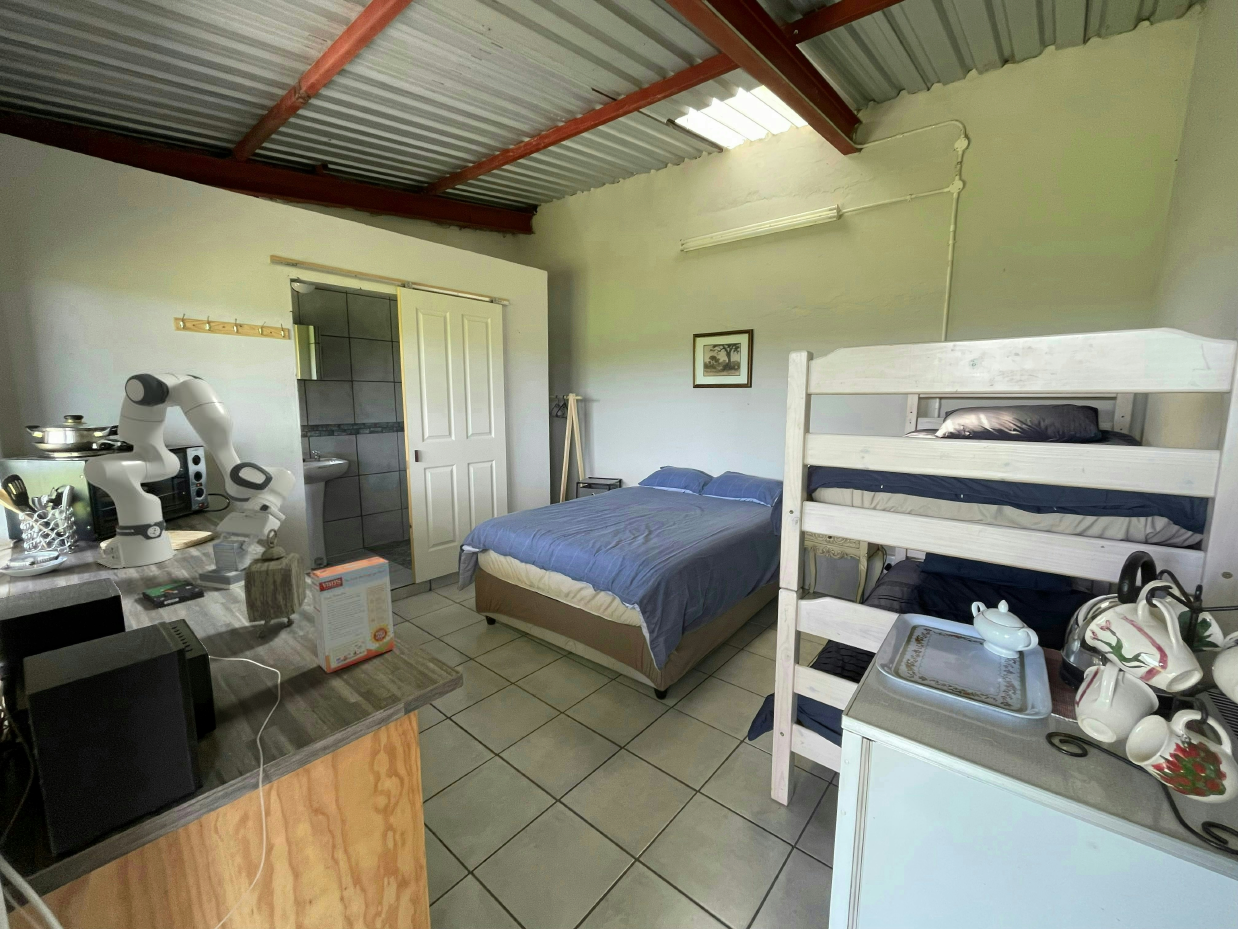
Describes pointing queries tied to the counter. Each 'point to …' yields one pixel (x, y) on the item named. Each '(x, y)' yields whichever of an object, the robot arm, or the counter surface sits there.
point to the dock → (222, 578)
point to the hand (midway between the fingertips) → (231, 548)
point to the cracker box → (352, 612)
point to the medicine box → (230, 555)
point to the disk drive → (173, 594)
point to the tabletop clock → (274, 585)
